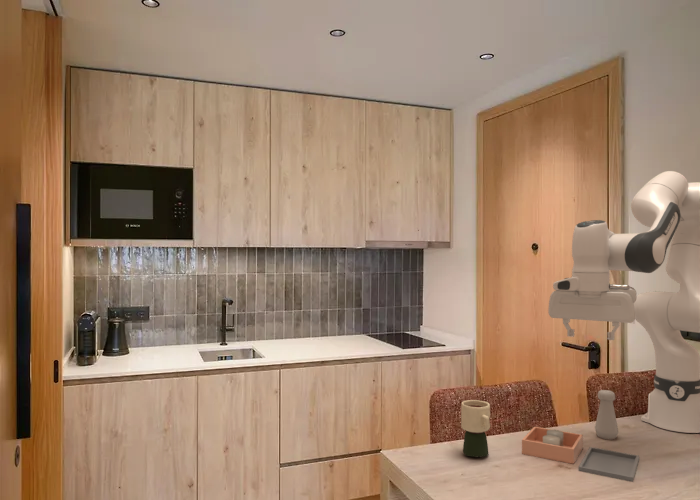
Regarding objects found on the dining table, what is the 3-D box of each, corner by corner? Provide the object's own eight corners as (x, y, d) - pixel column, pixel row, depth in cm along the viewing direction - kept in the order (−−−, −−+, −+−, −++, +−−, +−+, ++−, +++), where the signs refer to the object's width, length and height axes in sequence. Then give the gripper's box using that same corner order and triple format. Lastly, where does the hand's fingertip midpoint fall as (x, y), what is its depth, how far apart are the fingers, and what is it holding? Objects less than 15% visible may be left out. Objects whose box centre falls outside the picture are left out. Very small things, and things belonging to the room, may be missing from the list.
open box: (534, 441, 147) (534, 426, 147) (582, 450, 140) (582, 434, 140) (521, 455, 137) (521, 439, 137) (573, 466, 130) (573, 449, 130)
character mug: (500, 461, 133) (500, 408, 133) (475, 465, 131) (475, 411, 131) (475, 446, 143) (475, 396, 143) (451, 449, 141) (451, 399, 141)
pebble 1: (544, 449, 139) (544, 434, 139) (561, 453, 137) (561, 437, 137) (541, 454, 136) (541, 438, 136) (557, 458, 134) (557, 441, 134)
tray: (589, 452, 139) (589, 446, 139) (639, 461, 133) (639, 455, 133) (578, 472, 126) (578, 466, 126) (632, 483, 120) (632, 477, 120)
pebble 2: (548, 443, 143) (548, 428, 143) (564, 446, 141) (564, 431, 141) (545, 448, 140) (545, 433, 140) (561, 451, 138) (561, 435, 138)
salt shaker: (613, 435, 152) (613, 388, 152) (621, 442, 146) (621, 394, 146) (591, 434, 152) (591, 388, 152) (599, 441, 147) (599, 393, 147)
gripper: (637, 284, 136) (637, 339, 136) (552, 281, 147) (552, 333, 147) (635, 285, 131) (635, 343, 131) (546, 283, 142) (546, 336, 142)
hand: (590, 337), depth 139 cm, fingers open, 8 cm apart
